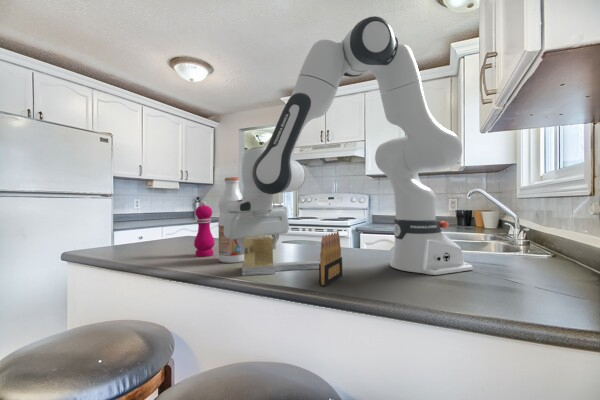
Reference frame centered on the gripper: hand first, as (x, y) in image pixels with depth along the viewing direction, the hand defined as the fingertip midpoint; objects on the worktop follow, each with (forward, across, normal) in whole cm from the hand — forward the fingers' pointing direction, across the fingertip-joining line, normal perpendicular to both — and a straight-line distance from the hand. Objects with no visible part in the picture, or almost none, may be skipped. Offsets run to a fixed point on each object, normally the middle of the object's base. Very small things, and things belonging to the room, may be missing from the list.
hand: (258, 251), depth 86 cm
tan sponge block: (+4, 0, 0) cm, 4 cm away
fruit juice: (+6, -1, -18) cm, 19 cm away
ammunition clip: (+6, -8, +21) cm, 24 cm away
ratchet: (+5, -7, +4) cm, 10 cm away
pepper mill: (+6, +4, -33) cm, 33 cm away
